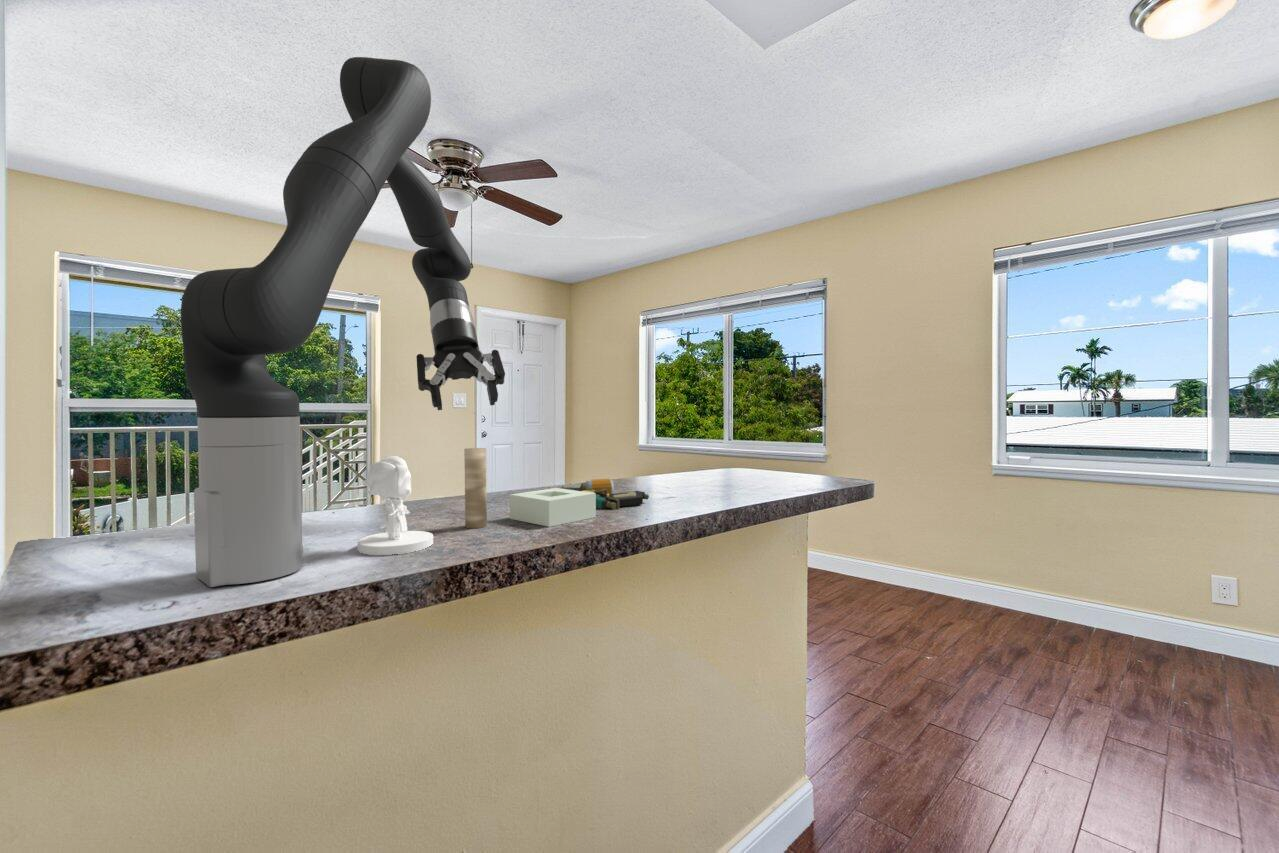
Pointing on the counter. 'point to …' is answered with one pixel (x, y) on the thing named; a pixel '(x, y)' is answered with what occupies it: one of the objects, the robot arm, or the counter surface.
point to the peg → (475, 488)
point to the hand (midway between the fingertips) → (466, 405)
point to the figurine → (392, 510)
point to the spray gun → (610, 494)
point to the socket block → (552, 506)
